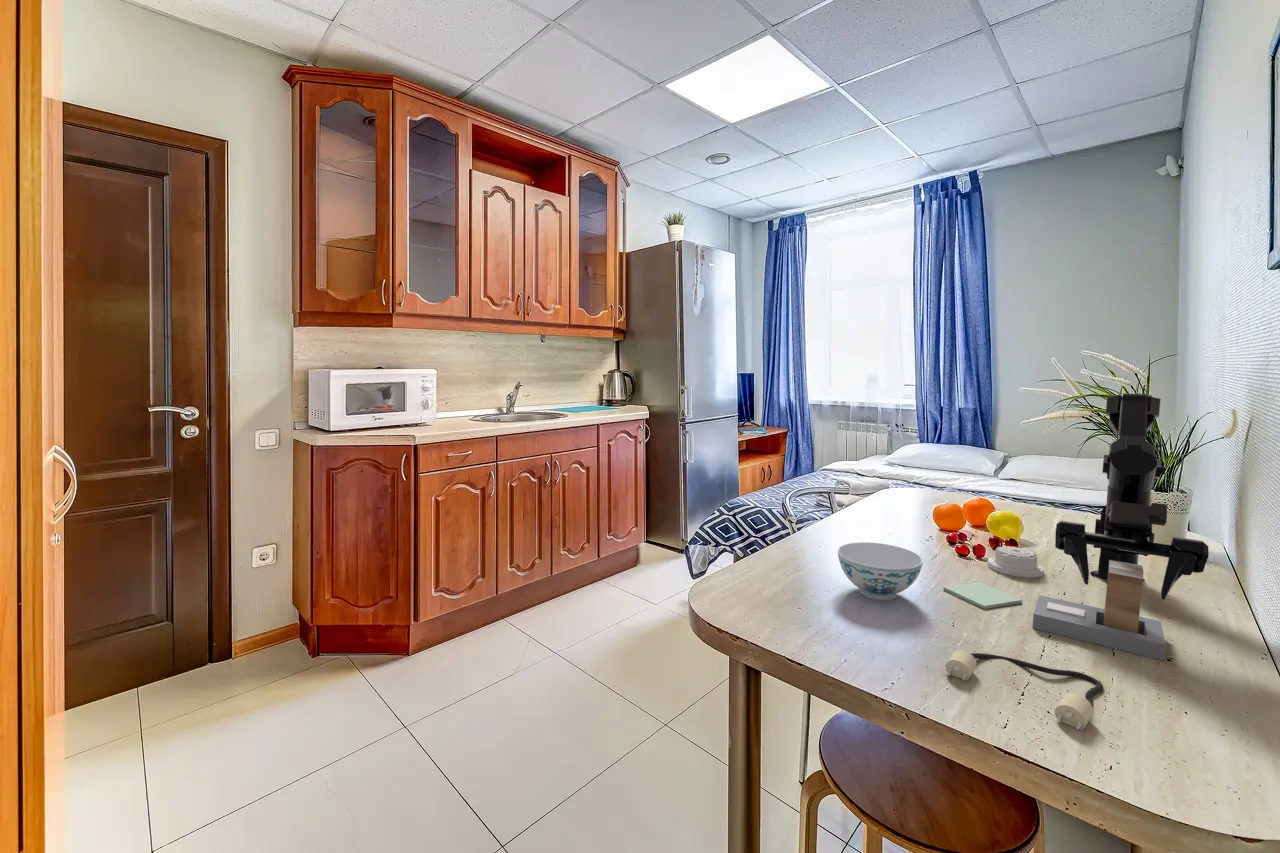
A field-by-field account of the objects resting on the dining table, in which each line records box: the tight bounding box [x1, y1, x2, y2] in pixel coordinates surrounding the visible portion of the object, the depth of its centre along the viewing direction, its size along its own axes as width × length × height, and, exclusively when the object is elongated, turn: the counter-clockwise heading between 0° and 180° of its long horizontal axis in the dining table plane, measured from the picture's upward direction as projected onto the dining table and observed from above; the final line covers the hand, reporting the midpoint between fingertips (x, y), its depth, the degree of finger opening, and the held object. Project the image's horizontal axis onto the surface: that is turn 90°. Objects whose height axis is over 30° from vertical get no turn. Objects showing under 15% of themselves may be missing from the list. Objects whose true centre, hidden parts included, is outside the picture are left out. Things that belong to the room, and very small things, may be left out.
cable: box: [945, 649, 1104, 731], centre depth 76 cm, size 16×16×4 cm
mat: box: [942, 581, 1023, 610], centre depth 104 cm, size 9×9×1 cm
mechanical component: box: [987, 545, 1044, 579], centre depth 118 cm, size 10×4×10 cm
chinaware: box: [837, 541, 924, 601], centre depth 106 cm, size 15×15×8 cm
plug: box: [1103, 560, 1144, 633], centre depth 88 cm, size 4×4×12 cm
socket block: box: [1032, 594, 1167, 662], centre depth 90 cm, size 10×16×3 cm, turn 50°
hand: (1123, 590), depth 87 cm, fingers open, 9 cm apart
